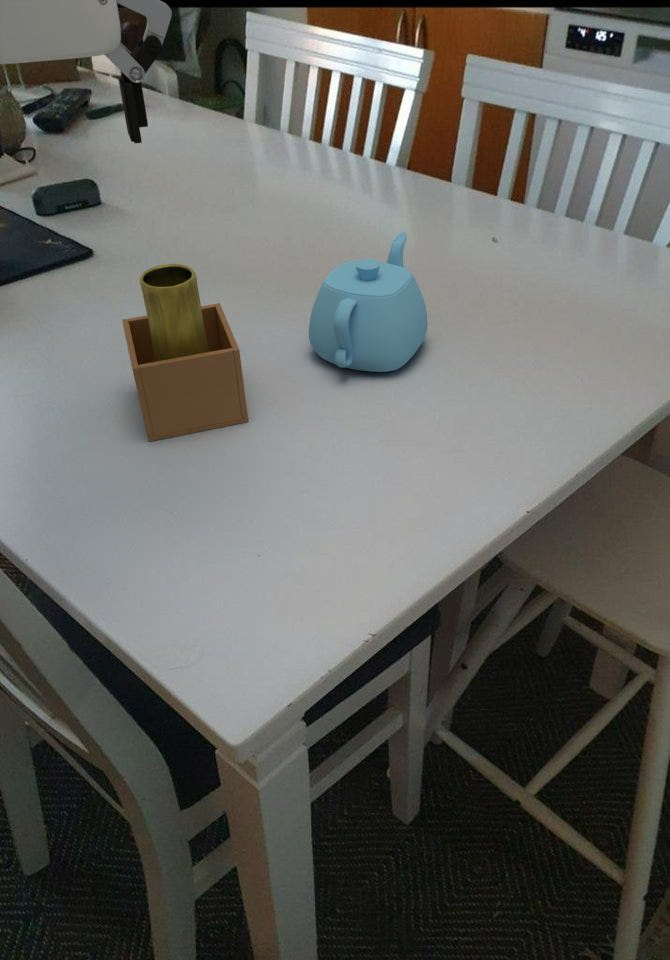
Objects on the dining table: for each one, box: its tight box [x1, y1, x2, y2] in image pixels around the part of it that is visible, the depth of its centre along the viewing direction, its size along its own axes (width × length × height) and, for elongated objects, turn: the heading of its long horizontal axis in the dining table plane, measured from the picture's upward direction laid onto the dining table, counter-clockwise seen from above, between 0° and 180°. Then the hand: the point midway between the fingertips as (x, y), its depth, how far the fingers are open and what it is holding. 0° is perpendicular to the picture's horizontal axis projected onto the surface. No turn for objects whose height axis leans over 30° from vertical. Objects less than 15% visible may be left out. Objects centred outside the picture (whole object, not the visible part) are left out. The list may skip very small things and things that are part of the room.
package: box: [121, 302, 249, 443], centre depth 83 cm, size 10×10×8 cm
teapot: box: [308, 232, 429, 373], centre depth 90 cm, size 13×11×18 cm
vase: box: [139, 263, 209, 362], centre depth 81 cm, size 6×6×14 cm
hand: (68, 145), depth 59 cm, fingers open, 9 cm apart
